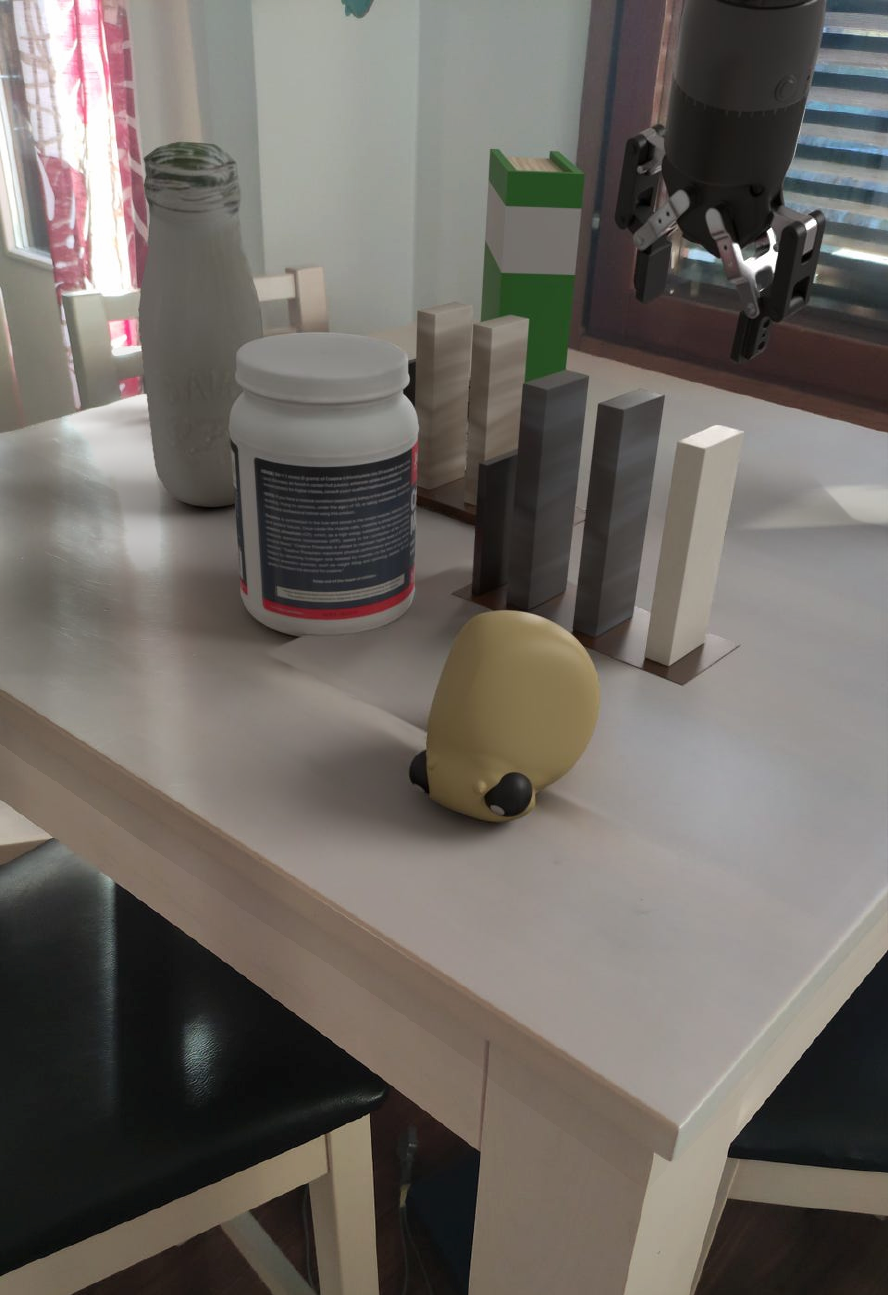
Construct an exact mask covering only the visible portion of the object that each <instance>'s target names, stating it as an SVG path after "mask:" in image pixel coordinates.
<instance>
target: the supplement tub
mask: <svg viewBox="0 0 888 1295" xmlns="http://www.w3.org/2000/svg"><path fill="white" fill-rule="evenodd" d="M408 360H409V356H408V354H407V352H406V351H405V350H404V349H403V348H401V347H400V346H398V345H396V344H394V343H393V342H390V341H387V340H383V339H380V338H375V337H371V336H367V335H360V334H351V333H343V332H341V333H340V332H324V331H323V332H322V331H321V332H318V331H316V332H315V331H314V332H313V331H312V332H309V331H308V332H307V331H306V332H291V333H282V334H281V333H280V334H275V335H270V336H265V337H264V336H263V338H260V339H256V340H253V341H251V342H248V343H246V344H244V345H243V346H242V347H240V349H239V350H238V351H237V353H236V366H237V371H236V373H235V380H236V382H237V383H238V384H239V385H240V386H242V388H243V391H244V392H243V393H242V394H241V395H240V396H239V397H238V398H237V400H236V401H235V403H234V405H233V407H232V409H231V413H230V418H229V432H230V442H231V455H232V470H233V484H234V498H235V504H234V511H235V525H236V539H237V540H236V541H237V553H238V568H239V583H240V587H239V588H240V589H239V592H240V597H241V599H242V600H241V601H242V602H243V604H244V607H245V609H246V610H247V611H248V612H249V614H250V615H251V616H252V617H253V619H255V620H257V621H258V622H259V623H260V624H262V625H264V626H265V627H267V628H269V629H272V630H274V631H277V632H280V633H283V634H285V635H290V636H294V637H299V638H301V637H303V636H305V635H311V636H341V635H351V634H357V633H363V632H368V631H371V630H375V629H379V628H381V627H384V626H386V625H388V624H390V623H392V622H394V621H396V620H398V619H400V618H401V617H402V616H403V615H404V614H405V613H406V612H407V611H408V610H409V608H411V605H412V602H413V599H414V596H415V593H416V586H415V582H416V581H415V580H416V577H415V574H416V541H417V540H416V537H417V536H416V534H417V504H416V497H417V455H418V432H419V425H418V419H417V414H416V411H415V409H414V407H413V405H412V403H411V402H410V400H409V399H408V398H407V397H406V396H405V395H404V394H403V389H404V388H405V387H406V386H407V385H408V384H409V381H410V377H409V374H408Z"/></svg>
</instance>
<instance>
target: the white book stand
mask: <svg viewBox="0 0 888 1295" xmlns="http://www.w3.org/2000/svg"><path fill="white" fill-rule="evenodd" d="M473 311H474V306H473V305H471V304H466V303H462V302H458V301H453V302H448V303H443V304H439V305H435V306H431V307H427V308H422V309H418V310H417V311H416V315H417V316H416V351H415V358H412V359H408V374H409V377H410V381H409V384H408V385H407V386H406V387H405V388H404V389H403V394H404V395H405V396H406V397H407V398H408V399H409V400H410V402H411V403H412V405H413V407H414V409H415V411H416V414H417V419H418V425H419V432H418V455H417V497H416V506H417V505H418V506H420V507H423V506H424V507H423V508H426V507H427V508H426V509H428V508H429V510H432V511H435V512H437V513H440V514H442V515H446V516H449V517H451V518H453V519H457V520H460V521H462V522H465V523H468V524H471V525H474V526H475V523H476V505H477V488H478V470H479V463H480V462H483V461H486V460H488V459H491V458H494V457H496V456H499V455H502V454H504V453H507V452H510V451H512V450H515V449H518V440H519V427H520V414H521V401H522V387H523V383H524V380H525V367H526V354H527V341H528V328H529V319H527V318H523V317H519V316H514V315H507V316H503V317H499V318H495V319H491V320H487V321H483V322H481V321H480V322H475V323H473V316H474V315H473ZM469 386H470V389H469ZM468 402H469V417H468V418H467V415H468ZM466 435H467V436H466ZM466 438H467V439H466ZM585 514H586V508H583V507H579V506H577V505H575V513H574V522H573V527H575V526H577V525H579V524H581V523H583V522H585Z"/></svg>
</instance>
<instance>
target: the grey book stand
mask: <svg viewBox="0 0 888 1295" xmlns="http://www.w3.org/2000/svg"><path fill="white" fill-rule="evenodd" d="M589 383H590V375H588V374H586V373H585V374H584V373H581V372H578V371H573V370H568V369H566V370H563V371H560V372H557V373H554V374H551V375H548V376H545V377H542V378H538V379H535V380H532V381H529V382H526V383H523V387H522V401H521V414H520V427H519V440H518V449H515V450H512V451H510V452H507V453H504V454H502V455H499V456H496V457H494V458H491V459H488V460H486V461H483V462H480V463H479V470H478V488H477V505H476V523H475V525H474V539H473V540H474V541H473V542H474V543H473V557H472V558H473V559H472V577H471V583H470V584H468V585H465V586H463V587H462V588H459V589H457V590H455V591H453V592H451V594H452V595H454V596H457V597H459V598H461V599H464V600H465V601H469V602H471V603H474V604H475V605H479V606H481V607H484V608H487V609H489V610H490V611H500V610H510V611H520V612H526V613H531V614H534V615H538V616H541V617H543V618H546V619H548V620H550V621H552V622H554V623H556V624H558V625H559V626H561V627H563V628H564V629H565V630H567V631H568V632H569V633H571V634H572V635H573V636H574V637H575V638H576V639H577V640H578V641H579V642H580V643H581V644H582V646H583V647H584V648H585V649H586V648H587V649H589V650H592V651H593V652H597V653H598V654H602V655H604V656H606V657H609V658H611V659H614V660H616V661H619V662H622V663H624V664H627V665H629V666H631V667H634V668H636V669H639V670H642V671H644V672H646V673H649V674H651V675H654V676H656V677H659V678H662V679H664V680H667V681H668V682H672V683H674V684H676V685H680V686H682V687H684V686H685V685H687V684H688V683H690V682H691V681H692V680H693V679H695V678H696V677H698V676H699V675H701V674H702V673H703V672H705V671H707V670H708V669H709V668H711V667H712V666H713V665H715V664H717V663H718V662H719V661H721V660H722V659H723V658H725V657H727V656H728V655H729V654H731V653H732V652H733V651H735V650H736V649H738V648H739V647H741V644H739V643H736V642H735V641H734V642H733V641H732V640H728V639H726V638H723V637H720V636H717V635H715V634H711V633H709V632H707V633H706V639H705V642H704V643H703V644H702V645H700V646H699V647H697V648H696V649H694V650H693V651H691V652H690V653H688V654H687V655H685V656H684V657H682V658H681V659H679V660H678V661H676V662H675V663H673V664H672V665H670V666H666V665H663V664H661V663H658V662H655V661H653V660H650V659H648V658H645V657H644V654H645V648H646V641H647V635H648V628H649V622H650V615H651V611H650V610H646V609H644V608H642V607H638V606H636V598H637V592H638V586H639V585H638V584H639V578H640V570H641V563H642V557H643V552H644V551H643V550H644V543H645V537H646V530H647V523H648V517H649V509H650V502H651V495H652V490H653V482H654V476H655V467H656V461H657V455H658V447H659V440H660V433H661V427H662V420H663V412H664V406H665V398H666V394H664V393H660V392H657V391H652V390H648V389H644V388H641V387H640V388H637V389H634V390H631V391H629V392H626V393H623V394H621V395H618V396H615V397H612V398H610V399H609V398H608V399H607V400H604V401H601V402H599V403H597V409H596V418H595V426H594V428H595V429H594V436H593V443H592V444H593V445H592V454H591V462H590V471H589V480H588V488H587V498H586V506H585V509H586V514H585V521H584V524H583V531H582V532H583V533H582V542H581V549H580V558H579V568H578V576H577V577H578V579H577V583H574V582H571V581H568V577H569V569H570V568H569V567H570V560H571V558H570V557H571V549H572V540H573V531H574V526H573V522H574V513H575V506H576V502H577V492H578V485H579V484H578V483H579V475H580V466H581V456H582V449H583V448H582V447H583V438H584V437H583V436H584V430H585V429H584V428H585V420H586V409H587V402H588V401H587V400H588V390H589Z"/></svg>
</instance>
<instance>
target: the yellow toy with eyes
mask: <svg viewBox="0 0 888 1295" xmlns="http://www.w3.org/2000/svg"><path fill="white" fill-rule="evenodd" d="M600 703H601V691H600V676H599V674H598V673H597V669H596V667H595V664H594V661H593V660H592V657H591V656H590V654H589V652H588V651H587V649H586V647H584V646H582V644H581V643H580V642H579V641H578V640H577V639H576V638H575V637H574V636H573V635H572V634H571V633H569V632H568V631H567V630H565V629H564V628H563V627H561V626H559V625H558V624H556V623H554V622H552V621H550V620H548V619H546V618H543V617H541V616H538V615H534V614H531V613H526V612H520V611H510V610H500V611H494V610H490V611H485V612H481V613H479V614H476V615H475V616H473V617H470V619H468V620H467V621H466V622H465V624H464V625H463V626H462V627H461V628H460V630H459V631H458V633H457V635H456V637H455V639H454V641H453V643H452V645H451V648H450V650H449V651H448V655H447V657H446V660H445V663H444V664H443V668H442V671H441V674H440V677H439V680H438V683H437V685H436V689H435V691H434V695H433V699H432V702H431V706H430V710H429V714H428V715H429V716H428V718H427V719H428V720H427V729H426V739H425V740H426V741H425V749H424V750H422V751H420V752H418V753H417V754H416V755H415V756H414V757H413V759H412V760H411V762H410V764H409V768H408V776H409V781H410V783H411V785H412V786H413V787H414V788H415V789H416V790H417V791H419V792H420V793H422V794H425V795H427V797H429V798H430V799H431V800H432V801H434V802H436V803H437V804H439V805H441V806H443V807H445V808H447V809H449V810H451V811H454V812H456V813H459V814H462V815H464V816H465V815H466V816H468V817H470V818H474V819H477V820H481V821H485V822H491V823H506V822H512V821H515V820H519V819H521V818H523V817H525V816H527V815H528V814H529V813H531V812H532V811H533V809H534V808H535V806H536V794H537V793H538V792H539V791H542V790H543V789H545V788H547V787H548V786H550V785H552V784H554V783H555V782H557V781H559V780H560V779H561V778H563V777H564V776H565V775H567V774H568V772H569V771H571V770H572V769H573V768H574V767H575V765H576V764H577V763H578V761H580V759H581V758H582V756H583V754H584V753H585V751H586V749H587V748H588V746H589V744H590V742H591V740H592V738H593V735H594V733H595V729H596V727H597V724H598V720H599V715H600V714H599V713H600V707H601V706H600V705H601V704H600Z"/></svg>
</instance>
